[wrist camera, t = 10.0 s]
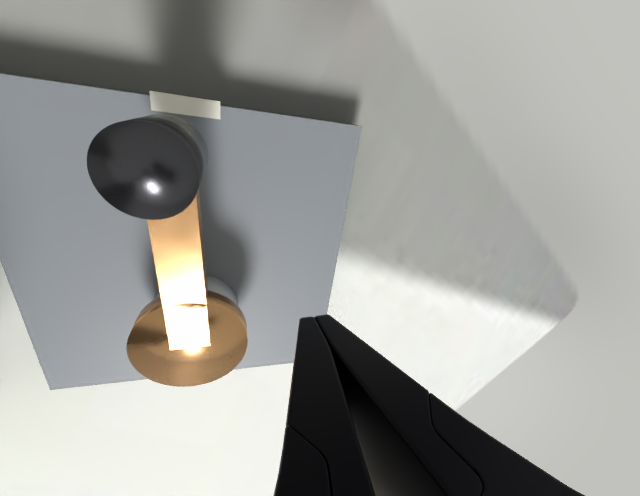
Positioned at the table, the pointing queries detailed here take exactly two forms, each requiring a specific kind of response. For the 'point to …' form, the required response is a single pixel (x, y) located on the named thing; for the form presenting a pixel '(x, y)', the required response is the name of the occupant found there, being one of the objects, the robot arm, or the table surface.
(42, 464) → the table surface
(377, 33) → the table surface
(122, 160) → the crank handle
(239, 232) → the base
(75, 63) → the table surface
